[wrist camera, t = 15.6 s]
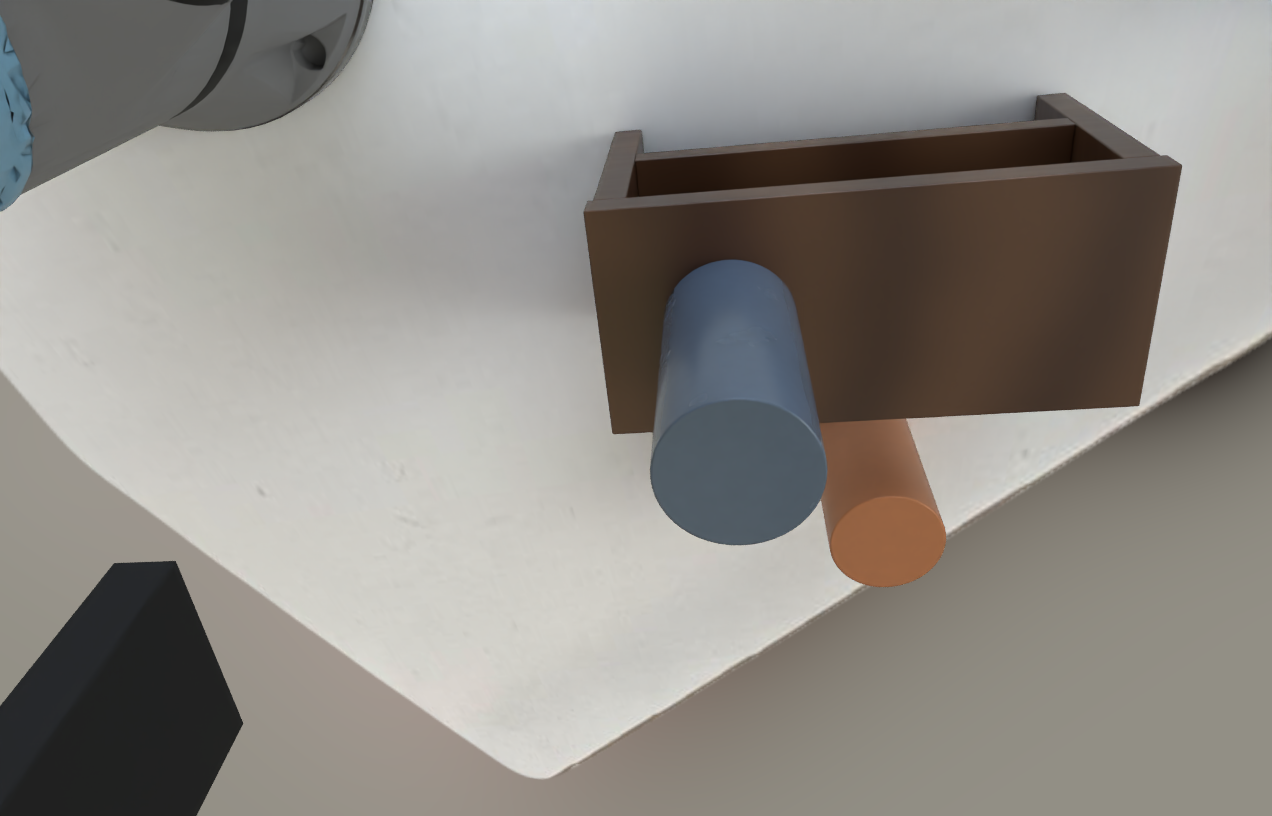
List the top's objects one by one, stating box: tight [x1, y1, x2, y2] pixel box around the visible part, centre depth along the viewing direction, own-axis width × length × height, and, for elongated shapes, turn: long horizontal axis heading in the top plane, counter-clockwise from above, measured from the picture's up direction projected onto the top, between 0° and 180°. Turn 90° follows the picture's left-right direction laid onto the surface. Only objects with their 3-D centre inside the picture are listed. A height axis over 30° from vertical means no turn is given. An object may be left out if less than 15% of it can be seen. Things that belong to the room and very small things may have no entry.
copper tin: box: [819, 419, 946, 587], centre depth 45 cm, size 5×5×10 cm
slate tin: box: [650, 260, 828, 545], centre depth 31 cm, size 5×5×10 cm
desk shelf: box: [584, 93, 1182, 434], centre depth 39 cm, size 20×9×11 cm, turn 96°
